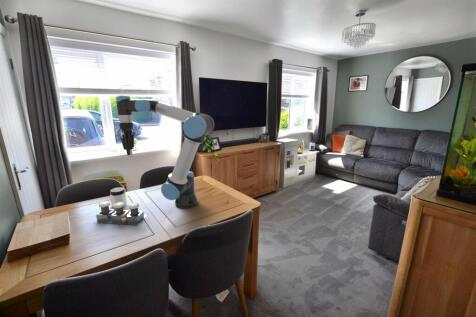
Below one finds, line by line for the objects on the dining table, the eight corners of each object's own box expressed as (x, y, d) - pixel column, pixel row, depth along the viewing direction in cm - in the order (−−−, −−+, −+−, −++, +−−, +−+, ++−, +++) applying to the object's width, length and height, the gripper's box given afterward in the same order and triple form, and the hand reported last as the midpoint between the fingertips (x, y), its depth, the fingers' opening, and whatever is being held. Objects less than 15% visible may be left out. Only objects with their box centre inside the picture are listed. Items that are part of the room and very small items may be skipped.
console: (147, 216, 135) (146, 209, 134) (136, 227, 123) (135, 219, 122) (107, 214, 137) (106, 207, 136) (93, 224, 126) (91, 216, 124)
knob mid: (128, 216, 132) (126, 202, 130) (122, 221, 127) (120, 206, 125) (119, 216, 133) (117, 201, 131) (113, 220, 127) (111, 206, 125)
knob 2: (142, 217, 131) (140, 202, 129) (137, 222, 126) (135, 207, 124) (133, 216, 132) (131, 202, 130) (128, 221, 127) (126, 206, 124)
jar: (112, 210, 142) (109, 193, 139) (111, 205, 149) (108, 189, 146) (127, 207, 147) (125, 190, 144) (126, 202, 153) (123, 186, 150)
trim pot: (128, 221, 128) (127, 213, 126) (125, 224, 124) (124, 215, 123) (123, 220, 128) (122, 212, 127) (120, 223, 125) (119, 215, 123)
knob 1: (113, 215, 133) (111, 201, 131) (107, 220, 128) (105, 205, 125) (105, 215, 134) (102, 201, 131) (98, 219, 128) (96, 205, 126)
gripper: (126, 120, 140) (130, 156, 146) (113, 122, 128) (118, 162, 134) (137, 121, 140) (141, 157, 146) (125, 123, 127) (130, 162, 133)
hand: (130, 159), depth 140 cm, fingers closed
